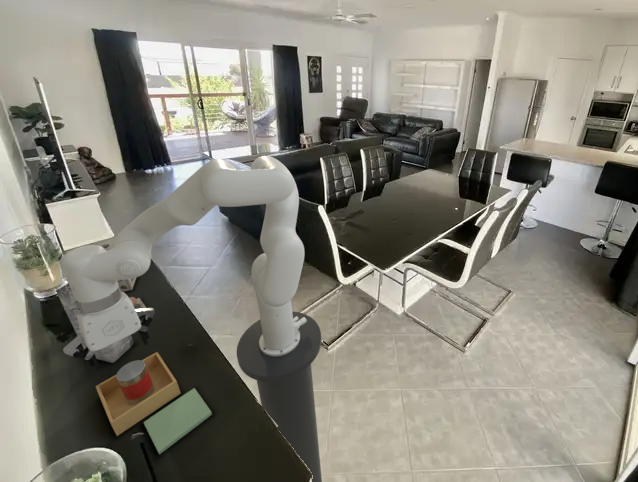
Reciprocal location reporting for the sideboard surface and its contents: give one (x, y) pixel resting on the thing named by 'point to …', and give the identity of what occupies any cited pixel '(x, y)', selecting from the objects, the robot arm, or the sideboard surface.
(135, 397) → the can
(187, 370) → the sideboard surface
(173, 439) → the mat
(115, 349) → the juice carton
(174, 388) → the open wooden box
